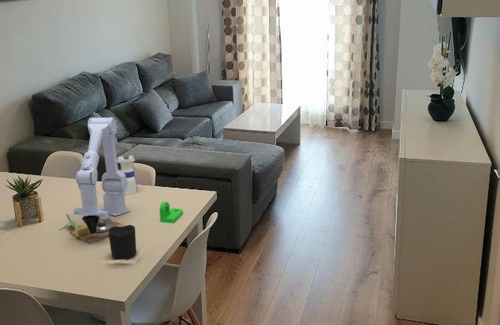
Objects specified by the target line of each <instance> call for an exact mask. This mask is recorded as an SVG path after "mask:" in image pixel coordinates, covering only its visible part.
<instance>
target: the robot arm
mask: <svg viewBox="0 0 500 325" xmlns="http://www.w3.org/2000/svg"><path fill="white" fill-rule="evenodd" d="M117 127H118V126H117V121H116V119H115V117H93V116H92V117H90V118H89V119H88V121H87V129H88V133H89V137H90V138H89V143H88V148H87V152H85V153H84V154H83V158H82V162H81V166H80V169H79V170H77V172H76V175H75V181H76V184H77V187H78V190H79V191H80V198H81V199H80V200H81V205H82V206H81V207H75V208H74V209H73V210H72V211H73V212H72V213H73V215H82V218H81V219H82V221H83V222H84V223H85V225H87V227H88V229H89V231H90V234H94V233H96V229H97V224H98V221H99V219H100V218H102V217H103V219H108V218H109V217H110V216H109V215H112V216H114V217H117V216H120V215H122V214H125V213H128V212H130V211H131V209H129V208H126V198H125V196H126V195H124V192H125V191H126V190H127V187H128V182H127V179H126V175H125V173H123V172H121V171H120V169H119V165H118V164H119V163H117V159H118V157H117V148H116V140H115V135H117V134H118V130H117ZM101 144H102V146H103V147H102V149H103V156H104V163H105V169H106V170H105V171H106V172H104V173H103V174H102V176H101V189H102V191H103V192H104V194H103V197H102V198H103V209H100V208H99V205H98V204H99V203H98V196H97V186H96V185H97V182H98V170H97V169H98V164H99V161H100V155H99V154H98V153H99V150H100V147H101Z"/></svg>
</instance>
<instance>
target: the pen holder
mask: <svg viewBox="0 0 500 325" xmlns="http://www.w3.org/2000/svg"><path fill="white" fill-rule="evenodd" d="M108 233H109V237H108V238H109V246H110V251H111V257H112V258H113V259H115V260H118V261H121V260H129V259H131V258H134V256H136V254H137V240H136V227H135V226H134V225H132V224H127V225H126V226H124V227H118V226H114V227H111V228H110V229H109V230H108Z"/></svg>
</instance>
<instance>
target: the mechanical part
mask: <svg viewBox="0 0 500 325" xmlns="http://www.w3.org/2000/svg"><path fill="white" fill-rule="evenodd" d="M170 207H171V206H170V203H169V202H166V201H162V202H161V203H160V205H159V219H160V223H169V224H175V223H176V222H177V221H178V220H179V219H180V217H182V216H183V214H184V211H183V208H175V207H172V208H170Z"/></svg>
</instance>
